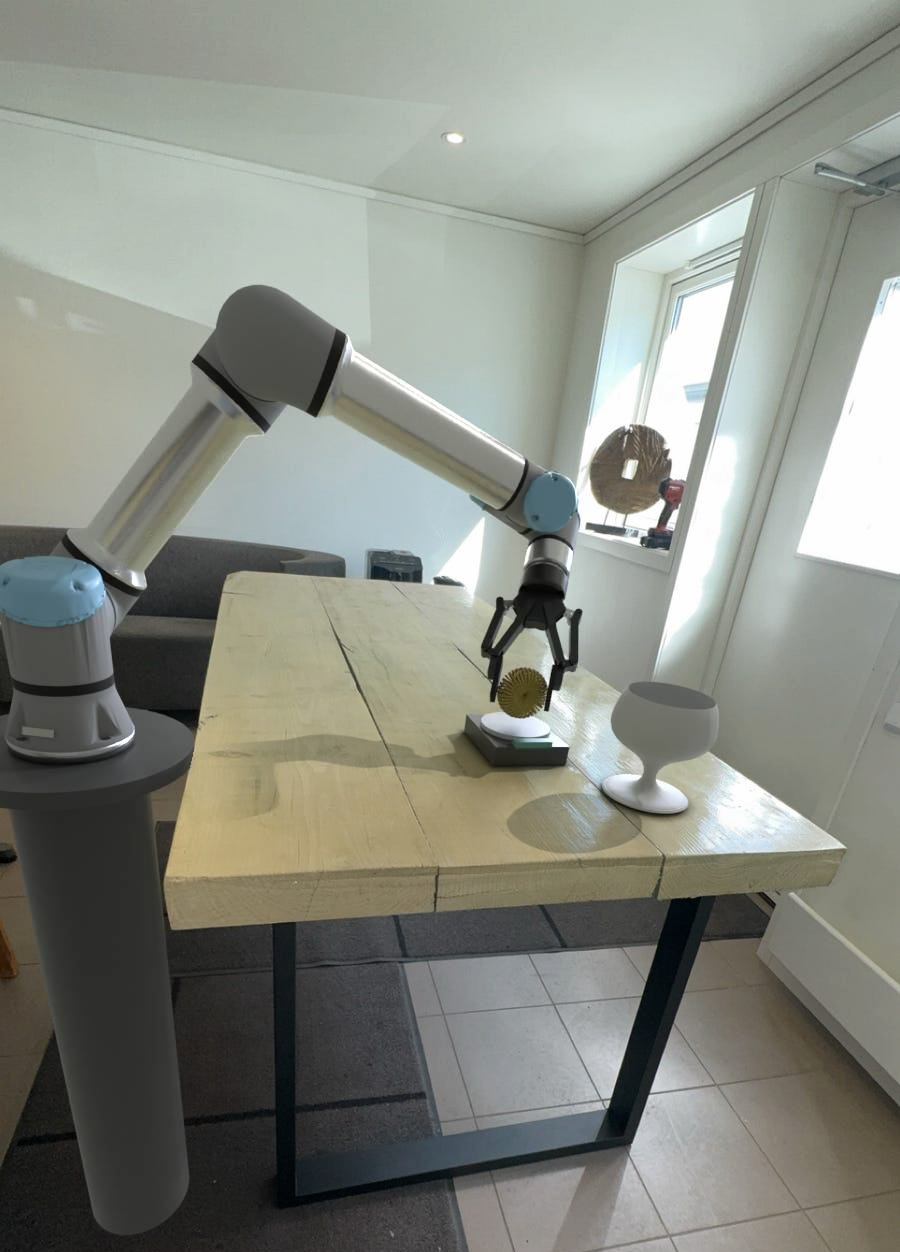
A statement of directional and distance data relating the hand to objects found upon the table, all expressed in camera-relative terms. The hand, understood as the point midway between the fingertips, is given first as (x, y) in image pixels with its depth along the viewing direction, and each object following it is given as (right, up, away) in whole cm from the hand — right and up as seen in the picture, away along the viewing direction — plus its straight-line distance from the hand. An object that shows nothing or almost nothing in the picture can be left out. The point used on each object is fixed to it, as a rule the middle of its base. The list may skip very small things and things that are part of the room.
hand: (519, 702), depth 98 cm
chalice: (+17, -14, -4) cm, 23 cm away
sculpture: (0, -2, +5) cm, 5 cm away
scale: (0, -6, +7) cm, 9 cm away
